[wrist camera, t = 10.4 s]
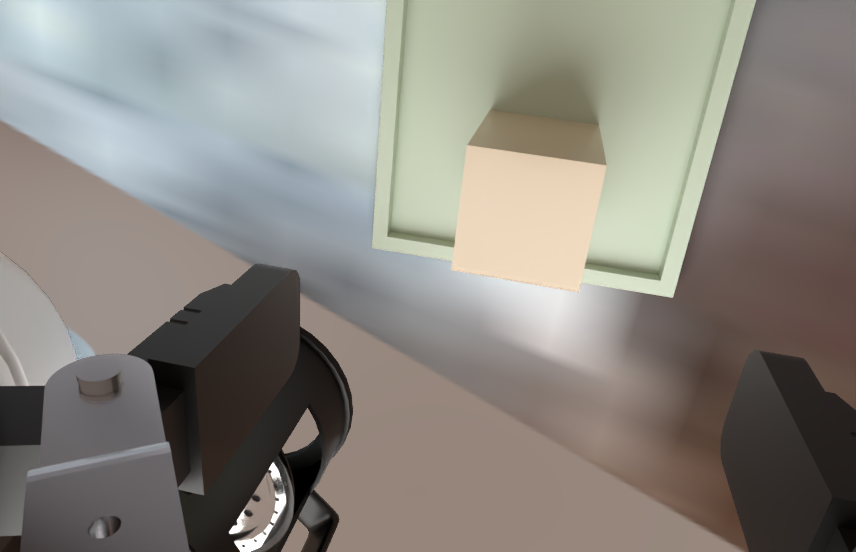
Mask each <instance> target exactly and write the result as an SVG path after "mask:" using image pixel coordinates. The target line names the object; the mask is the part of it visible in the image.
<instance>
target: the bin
mask: <svg viewBox="0 0 856 552" xmlns="http://www.w3.org/2000/svg"><path fill="white" fill-rule="evenodd" d="M755 2H756V0H387V9H386V25H385V42H384V58H383V75H382V91H381V107H380V124H379V140H378V156H377V173H376V189H375V205H374V222H373V238H372V248H375V249H381V250H387V251H393V252H399V253H405V254H411V255H417V256H423V257H429V258H435V259H441V260H448V261H452V260H453V252H454V244H455V236H456V228H457V220H458V212H459V204H460V196H461V188H462V180H463V172H464V164H465V156H466V148H467V144H468V143H469V141H470V140H471V138H472V136H473V135H474V133H475V132H476V130H477V129H478V127H479V126H480V124H481V123H482V121H483V120H484V118H485V117H486V115H487V113H488V112H489V110H496V111H503V112H511V113H518V114H525V115H532V116H540V117H547V118H554V119H561V120H569V121H576V122H583V123H590V124H598V125H599V127H600V132H601V137H602V143H603V148H604V153H605V158H606V163H607V168H606V172H605V177H604V181H603V186H602V190H601V195H600V199H599V204H598V209H597V213H596V218H595V222H594V227H593V231H592V236H591V240H590V245H589V250H588V254H587V259H586V263H585V268H584V272H583V277H582V281H581V283H587V284H593V285H599V286H605V287H611V288H617V289H623V290H629V291H636V292H642V293H648V294H654V295H660V296H666V297H672V298H673V295H674V292H675V288H676V284H677V281H678V277H679V274H680V270H681V267H682V263H683V259H684V256H685V252H686V249H687V245H688V242H689V238H690V234H691V231H692V227H693V224H694V220H695V217H696V213H697V209H698V206H699V202H700V199H701V195H702V192H703V188H704V184H705V181H706V177H707V174H708V170H709V167H710V163H711V159H712V156H713V152H714V149H715V145H716V142H717V138H718V134H719V131H720V127H721V124H722V120H723V116H724V113H725V109H726V106H727V102H728V99H729V95H730V91H731V88H732V84H733V81H734V77H735V74H736V70H737V66H738V63H739V59H740V56H741V52H742V49H743V45H744V41H745V38H746V34H747V31H748V27H749V24H750V20H751V16H752V13H753V9H754V6H755Z"/></svg>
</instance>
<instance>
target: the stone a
mask: <svg viewBox="0 0 856 552" xmlns="http://www.w3.org/2000/svg"><path fill="white" fill-rule="evenodd" d="M606 168H607V163H606V158H605V153H604V148H603V143H602V137H601V132H600V127H599V125H598V124H590V123H583V122H576V121H569V120H561V119H554V118H547V117H540V116H532V115H525V114H518V113H511V112H503V111H496V110H489V112H488V113H487V115H486V117H485V118H484V120H483V121H482V123H481V124H480V126H479V127H478V129H477V130H476V132H475V133H474V135H473V136H472V138H471V140H470V141H469V143H468V144H467V148H466V156H465V164H464V172H463V180H462V188H461V196H460V204H459V212H458V220H457V228H456V236H455V244H454V252H453V260H452V268H451V270H453V271H459V272H465V273H470V274H476V275H482V276H488V277H493V278H499V279H505V280H511V281H516V282H522V283H528V284H534V285H540V286H545V287H551V288H557V289H563V290H568V291H574V292H579V291H580V286H581V281H582V277H583V272H584V268H585V263H586V259H587V254H588V250H589V245H590V240H591V236H592V231H593V227H594V222H595V218H596V213H597V209H598V204H599V199H600V195H601V190H602V186H603V181H604V177H605V172H606Z"/></svg>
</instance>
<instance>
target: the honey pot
mask: <svg viewBox="0 0 856 552" xmlns="http://www.w3.org/2000/svg"><path fill="white" fill-rule="evenodd" d="M74 361H77V359H76V354H75V351H74V348H73V345H72V342H71V339H70V336H69V333H68V330H67V327H66V325H65V323H64V321H63V320H62V318H61V316H60V315H59V313H58V311H57V310H56V308H55V306H54V305H53V303H52V301H51V300H50V298H49V297H48V296H47V295H46V293H45V292H44V291H43V290H42V289H41V288H40V287H39V286H38V284H37V283H36V282H35V281H34V280H33V279H32V278H31V277H30V275H29V274H28V273H27V272H26V271H25V270H24V269H22V268H21V267H20V266H18V265H17V264H16V263H15V262H13V261H12V260H11V259H9V258H8V257H7V256H6V255H4V254H3V253H2V252H1V251H0V386H45V384H46V383H47V381H48V379H49V378H50V377H51V376H52V375H53V374H54V373H55V372H56V371H58V370H59V369H61V368H62V367H64V366H66V365H68V364H70V363H72V362H74Z"/></svg>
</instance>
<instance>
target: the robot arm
mask: <svg viewBox="0 0 856 552" xmlns="http://www.w3.org/2000/svg"><path fill="white" fill-rule="evenodd" d="M299 346H300V278H299V274H298V272H297V271H296V270H292V269H287V268H281V267H275V266H269V265H263V264H255V265H254V266H252V267H251V268H250V269H249V270H248V271H247V272H245V273H244V274H243V275H242V276H241V277H240V278H239V279H237V280H236V281H235V282H234V283H233V284H232V285H229V284H223V285H221V286H219V287H216V288H213V289H211V290H209V291H206V292H203V293H201V294H199V295H198V296H197V297H196V298H195V299H193V300H192V301H191V302H190V303H189V304H187V305H186V306H185V307H184V310H180V311H179V312H178V313H177V314H175V315H174V316H173V317H172V318H171V319H170V322H166V323H164V324H163V325H162V326H161V327H160V328H158V329H157V330H156V331H155V332H153V333H152V334H151V335H150V336H149V337H147V338H146V339H145V340H144V341H143V342H141V343H140V344H139V345H138V346H137V347H136V348H134V349H133V350H132V351H131V352H129V353H128V354H127V355H125V354H104V355H96V356H91V357H87V358H83V359H80V360H77V361H74V362H72V363H70V364H68V365H66V366H64V367H62V368H61V369H59V370H58V371H56V372H55V373H54V374H53V375H52V376H51V377H50V378H49V379H48V381H47V383H46V384H45V386H0V552H1V551H2V550H3V548H4V547H5V546H6V545H7V544H8V543H9V542H10V541H11V540H12V539H13V538H14V536H18V535H21V547H20V552H190V551H189V546H188V540H187V535H186V529H185V524H184V519H183V513H182V508H181V503H180V497H179V492H178V490H182V491H186V492H191V493H195V494H200V495H205V493H206V492H207V491H208V489H209V488H210V487H211V485H212V484H213V482H214V481H215V480H216V478H217V477H218V475H219V474H220V473H221V471H222V470H223V469H224V467H225V466H226V464H227V463H228V462H229V460H230V459H231V458H232V456H233V455H234V453H235V452H236V451H237V449H238V448H239V447H240V445H241V444H242V442H243V441H244V440H245V438H246V437H247V435H248V434H249V433H250V431H251V430H252V429H253V427H254V426H255V424H256V423H257V422H258V420H259V419H260V418H261V416H262V415H263V413H264V412H265V411H266V409H267V408H268V407H269V405H270V404H271V402H272V401H273V400H274V398H275V397H276V395H277V394H278V393H279V391H280V390H281V389H282V387H283V386H284V384H285V383H286V382H287V380H288V379H289V378H290V376H291V374H292V372H293V370H294V368H295V365H296V362H297V358H298V353H299ZM721 460H722V464H723V468H724V471H725V474H726V478H727V481H728V484H729V487H730V491H731V494H732V497H733V500H734V504H735V507H736V510H737V514H738V517H739V520H740V523H741V527H742V530H743V533H744V536H745V540H746V543H747V546H748V550H749V552H856V410H855V409H853V408H852V407H851V406H850V405H848V404H847V403H846V402H845V401H844V400H842V399H841V398H840V397H839V396H837V395H836V394H835V393H830V392H825V391H824V389H823V387H822V386H821V384H820V383H819V381H818V379H817V378H816V376H815V374H814V373H813V371H812V369H811V368H810V366H809V365H808V363H807V362H806V360H805V359H803V358H799V357H793V356H788V355H782V354H776V353H770V352H764V351H758V350H754V351H753V352H751V353H750V355H749V356H748V358H747V360H746V362H745V365H744V368H743V371H742V374H741V377H740V380H739V382H738V385H737V388H736V391H735V394H734V397H733V400H732V403H731V406H730V409H729V411H728V414H727V417H726V420H725V423H724V426H723V430H722V436H721Z"/></svg>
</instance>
